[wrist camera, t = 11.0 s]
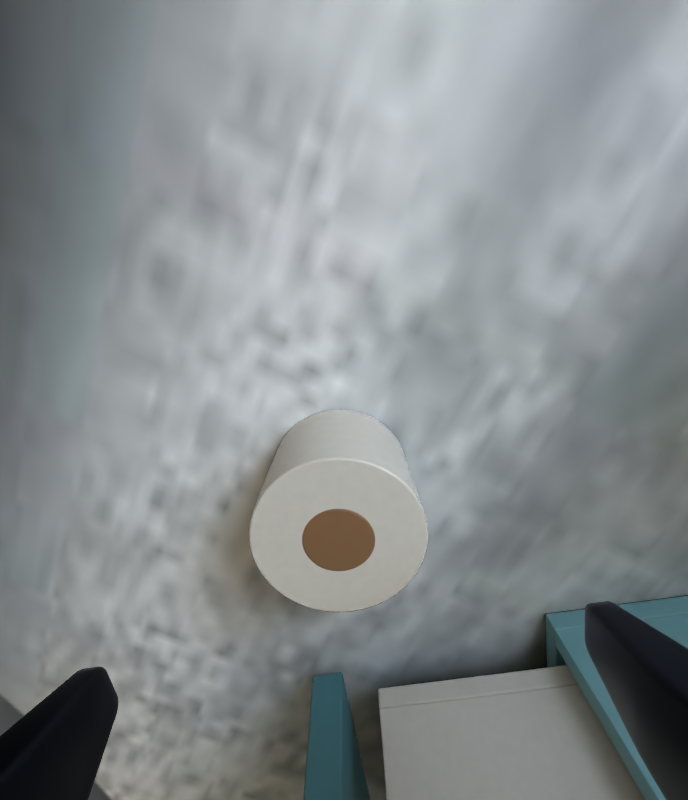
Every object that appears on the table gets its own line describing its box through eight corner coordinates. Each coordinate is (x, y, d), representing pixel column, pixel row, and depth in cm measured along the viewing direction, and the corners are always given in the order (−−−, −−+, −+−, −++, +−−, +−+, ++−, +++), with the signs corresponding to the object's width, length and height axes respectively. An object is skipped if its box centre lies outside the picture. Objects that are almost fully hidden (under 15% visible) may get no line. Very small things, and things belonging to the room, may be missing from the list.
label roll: (248, 448, 14) (212, 511, 10) (366, 384, 14) (375, 425, 10) (316, 548, 15) (307, 638, 11) (428, 493, 15) (459, 570, 11)
